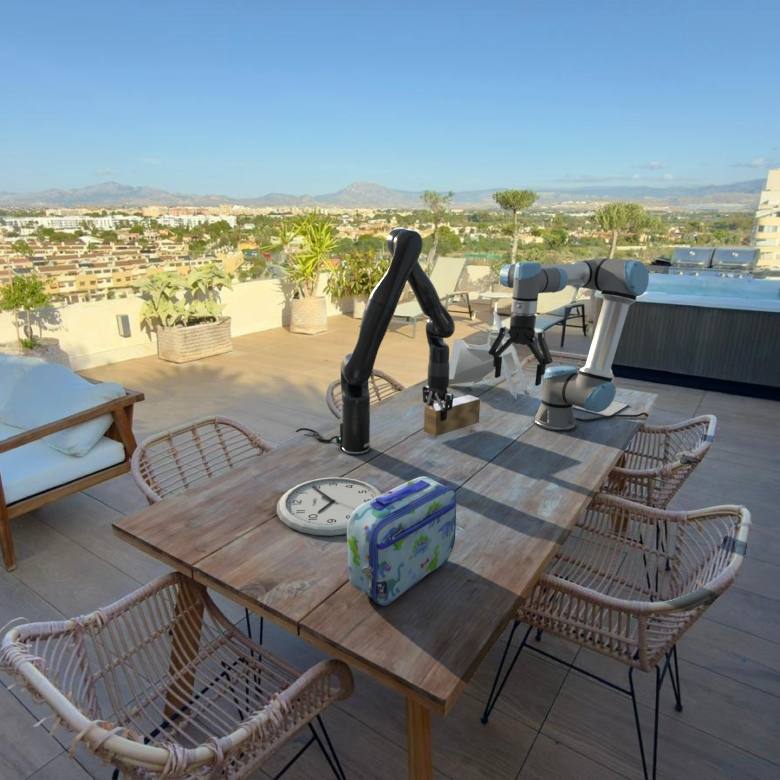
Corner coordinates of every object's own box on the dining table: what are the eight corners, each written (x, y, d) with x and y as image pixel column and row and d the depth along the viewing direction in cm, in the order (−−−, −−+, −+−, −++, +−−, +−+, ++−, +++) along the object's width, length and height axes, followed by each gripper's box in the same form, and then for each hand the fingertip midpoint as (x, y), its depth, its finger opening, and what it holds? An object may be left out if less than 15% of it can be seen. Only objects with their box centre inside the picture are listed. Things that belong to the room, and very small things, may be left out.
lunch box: (376, 619, 101) (377, 524, 95) (340, 592, 109) (339, 502, 102) (459, 562, 119) (465, 479, 113) (424, 542, 126) (427, 463, 120)
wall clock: (392, 527, 129) (268, 531, 127) (391, 533, 130) (269, 537, 127) (383, 473, 158) (282, 475, 155) (383, 478, 158) (282, 480, 156)
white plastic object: (461, 429, 252) (437, 405, 227) (444, 352, 274) (420, 323, 250) (535, 404, 240) (518, 377, 215) (510, 326, 262) (492, 293, 237)
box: (467, 418, 203) (468, 394, 200) (478, 422, 198) (480, 398, 196) (423, 431, 190) (424, 406, 187) (435, 436, 185) (436, 411, 182)
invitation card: (608, 416, 214) (573, 407, 224) (608, 416, 214) (573, 408, 224) (628, 404, 229) (594, 396, 238) (628, 405, 229) (594, 397, 238)
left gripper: (416, 370, 186) (415, 414, 191) (444, 379, 175) (442, 425, 180) (432, 367, 190) (430, 410, 195) (460, 375, 180) (458, 421, 185)
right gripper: (481, 311, 164) (476, 376, 170) (559, 320, 149) (551, 391, 156) (491, 308, 169) (487, 371, 176) (568, 317, 155) (560, 385, 161)
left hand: (436, 417), depth 188 cm, fingers closed on box, 6 cm apart
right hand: (517, 380), depth 166 cm, fingers open, 13 cm apart
